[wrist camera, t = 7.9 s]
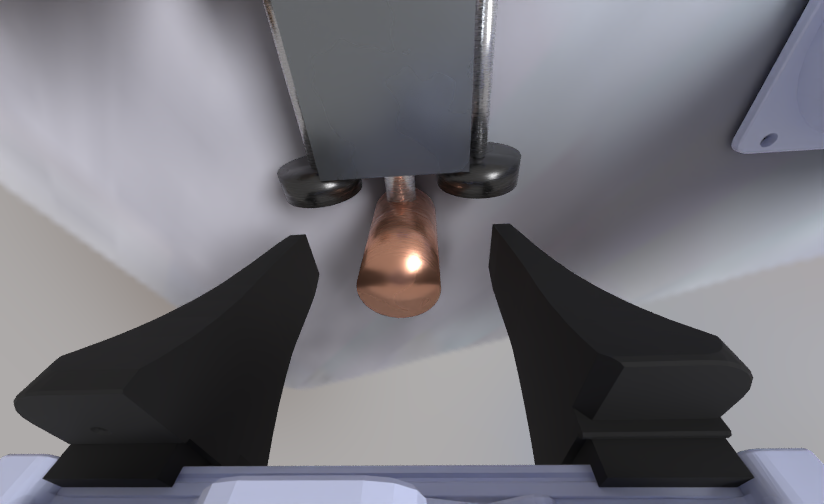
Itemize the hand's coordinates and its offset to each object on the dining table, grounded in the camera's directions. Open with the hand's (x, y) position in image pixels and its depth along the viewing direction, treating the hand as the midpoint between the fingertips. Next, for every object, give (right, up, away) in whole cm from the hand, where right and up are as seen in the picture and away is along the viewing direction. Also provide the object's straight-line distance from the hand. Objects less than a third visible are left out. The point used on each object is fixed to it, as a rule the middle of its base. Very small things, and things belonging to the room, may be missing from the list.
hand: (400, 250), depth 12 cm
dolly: (0, +7, -1) cm, 7 cm away
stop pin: (0, +4, +1) cm, 4 cm away
